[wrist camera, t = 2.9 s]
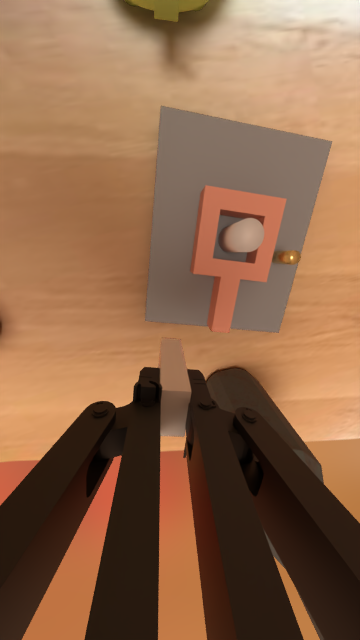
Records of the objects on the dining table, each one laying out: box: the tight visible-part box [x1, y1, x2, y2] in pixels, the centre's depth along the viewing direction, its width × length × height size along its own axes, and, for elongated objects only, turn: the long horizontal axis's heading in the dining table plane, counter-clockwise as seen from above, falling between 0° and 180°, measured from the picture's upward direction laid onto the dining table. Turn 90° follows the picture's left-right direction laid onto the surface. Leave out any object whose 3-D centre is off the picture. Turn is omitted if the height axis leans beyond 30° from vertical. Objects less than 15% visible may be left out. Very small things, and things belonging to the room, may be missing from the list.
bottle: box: [206, 368, 325, 640], centre depth 21 cm, size 10×10×30 cm
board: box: [145, 106, 332, 333], centre depth 24 cm, size 24×20×8 cm
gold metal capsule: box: [272, 250, 301, 265], centre depth 26 cm, size 2×2×4 cm
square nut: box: [190, 185, 287, 333], centre depth 26 cm, size 16×9×3 cm, turn 173°
